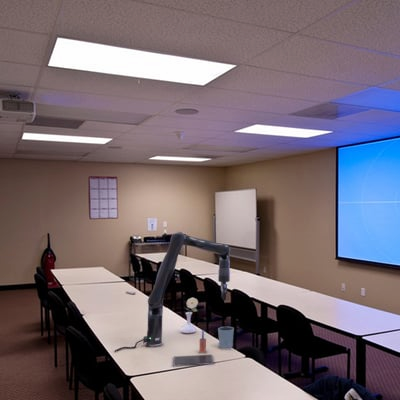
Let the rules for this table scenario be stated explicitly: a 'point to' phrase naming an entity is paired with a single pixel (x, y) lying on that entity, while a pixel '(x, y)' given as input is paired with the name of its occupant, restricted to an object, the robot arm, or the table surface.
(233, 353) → the table surface
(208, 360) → the tablet
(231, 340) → the blue-grey tapered bin
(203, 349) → the pen pot
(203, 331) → the stylus
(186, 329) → the flower in vase
